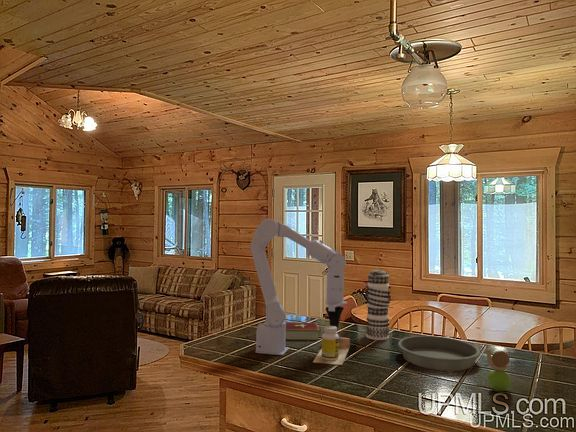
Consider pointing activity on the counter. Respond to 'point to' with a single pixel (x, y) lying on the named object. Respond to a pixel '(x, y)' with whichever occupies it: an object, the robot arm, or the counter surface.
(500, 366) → the snail figurine
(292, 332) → the hardcover book
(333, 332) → the supplement bottle
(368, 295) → the decorative candle
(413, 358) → the cake pan
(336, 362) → the strip
